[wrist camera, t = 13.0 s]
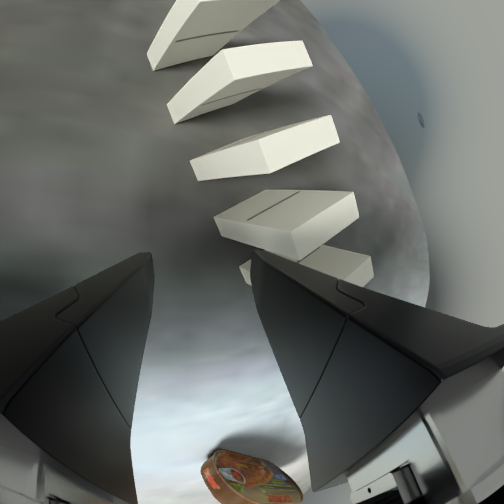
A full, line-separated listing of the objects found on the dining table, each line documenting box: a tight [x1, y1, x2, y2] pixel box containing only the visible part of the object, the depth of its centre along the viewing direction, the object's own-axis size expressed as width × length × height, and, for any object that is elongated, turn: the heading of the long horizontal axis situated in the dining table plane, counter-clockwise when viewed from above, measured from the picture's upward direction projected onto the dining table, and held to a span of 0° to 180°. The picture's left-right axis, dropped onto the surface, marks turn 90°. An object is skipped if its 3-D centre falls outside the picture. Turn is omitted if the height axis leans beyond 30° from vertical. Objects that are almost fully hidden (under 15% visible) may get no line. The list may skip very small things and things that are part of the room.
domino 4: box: [213, 190, 359, 260], centre depth 19 cm, size 2×5×9 cm, turn 114°
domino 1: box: [147, 0, 281, 71], centre depth 13 cm, size 2×5×9 cm, turn 113°
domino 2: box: [167, 41, 313, 124], centre depth 15 cm, size 2×5×9 cm, turn 113°
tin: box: [201, 450, 303, 504], centre depth 24 cm, size 15×3×8 cm, turn 42°
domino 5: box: [239, 245, 374, 287], centre depth 20 cm, size 2×5×9 cm, turn 114°
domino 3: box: [190, 115, 340, 181], centre depth 17 cm, size 2×5×9 cm, turn 114°
